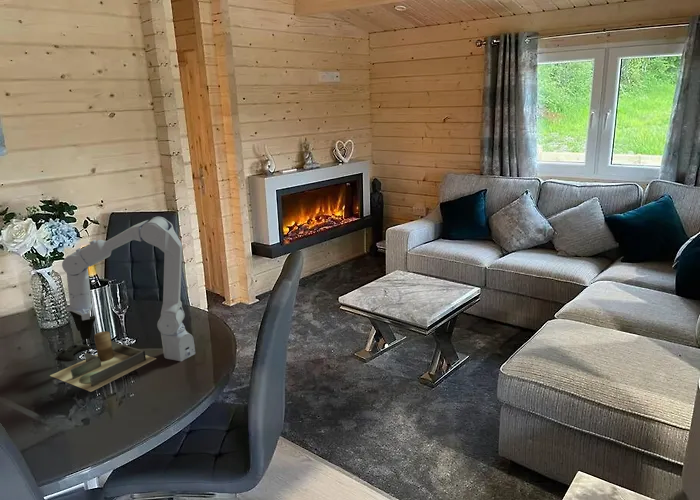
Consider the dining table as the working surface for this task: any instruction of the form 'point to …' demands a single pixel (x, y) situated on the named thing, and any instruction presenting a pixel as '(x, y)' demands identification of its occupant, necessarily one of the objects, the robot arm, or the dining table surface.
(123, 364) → the channel walls
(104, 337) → the peg
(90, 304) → the robot arm
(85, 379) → the board
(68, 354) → the game controller
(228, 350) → the dining table surface
